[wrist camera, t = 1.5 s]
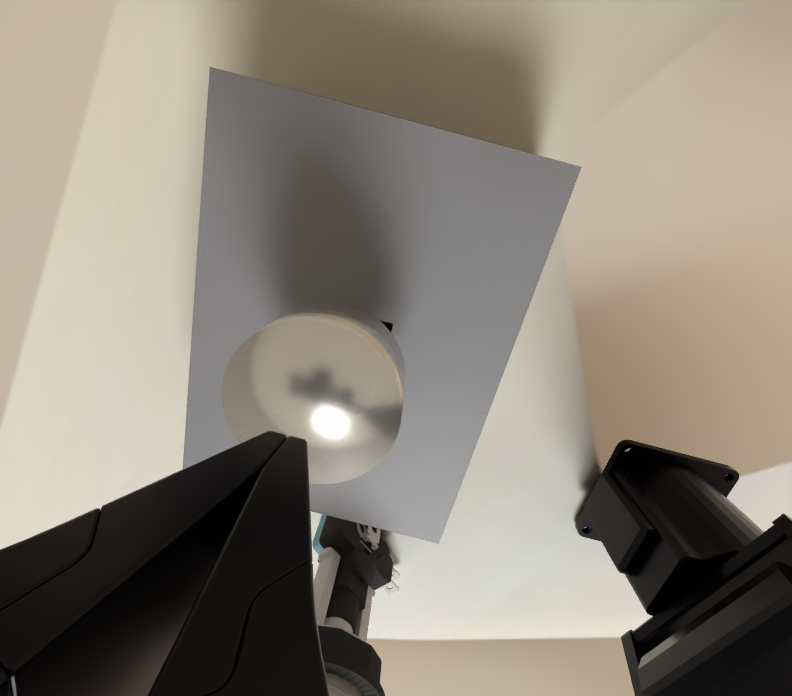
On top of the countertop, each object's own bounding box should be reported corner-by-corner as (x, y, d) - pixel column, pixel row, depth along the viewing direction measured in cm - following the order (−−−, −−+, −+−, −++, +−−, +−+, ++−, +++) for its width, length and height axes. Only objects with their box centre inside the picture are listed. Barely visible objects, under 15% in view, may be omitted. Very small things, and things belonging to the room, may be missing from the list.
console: (536, 183, 16) (581, 167, 12) (435, 473, 22) (438, 543, 17) (272, 112, 16) (210, 66, 12) (235, 421, 21) (182, 478, 17)
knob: (423, 292, 16) (423, 348, 9) (396, 389, 18) (378, 502, 11) (316, 264, 16) (231, 298, 9) (298, 364, 18) (214, 460, 11)
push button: (428, 553, 24) (431, 774, 14) (363, 586, 25) (326, 808, 16) (363, 481, 22) (318, 673, 13) (298, 520, 24) (214, 720, 14)
